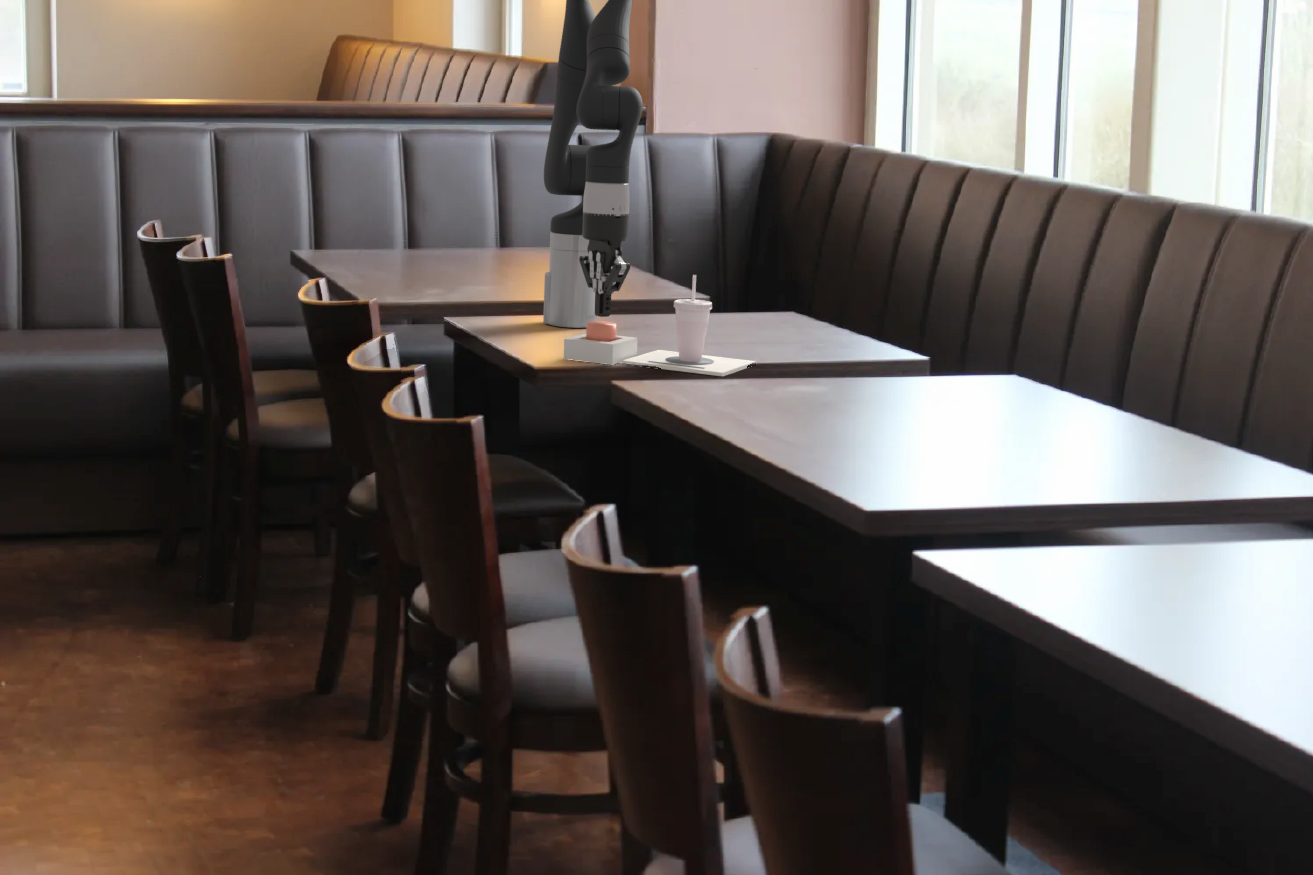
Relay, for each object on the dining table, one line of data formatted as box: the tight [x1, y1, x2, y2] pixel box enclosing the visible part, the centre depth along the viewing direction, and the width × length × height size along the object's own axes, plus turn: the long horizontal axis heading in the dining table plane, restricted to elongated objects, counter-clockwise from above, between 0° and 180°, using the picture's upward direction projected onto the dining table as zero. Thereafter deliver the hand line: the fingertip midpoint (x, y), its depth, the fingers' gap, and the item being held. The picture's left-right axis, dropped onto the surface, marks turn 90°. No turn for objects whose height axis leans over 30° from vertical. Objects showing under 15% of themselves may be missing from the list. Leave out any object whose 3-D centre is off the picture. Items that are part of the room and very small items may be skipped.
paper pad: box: [622, 349, 757, 377], centre depth 282 cm, size 18×14×1 cm
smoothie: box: [673, 274, 713, 362], centre depth 280 cm, size 6×6×14 cm
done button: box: [585, 320, 618, 342], centre depth 282 cm, size 5×5×4 cm
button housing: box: [563, 332, 638, 364], centre depth 283 cm, size 9×9×4 cm
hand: (602, 316), depth 281 cm, fingers closed
